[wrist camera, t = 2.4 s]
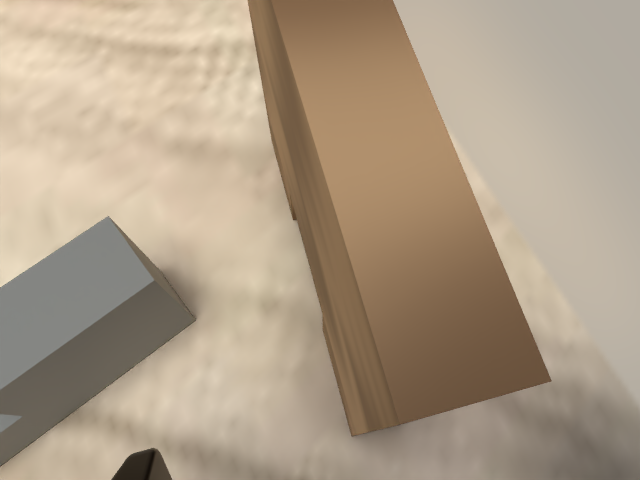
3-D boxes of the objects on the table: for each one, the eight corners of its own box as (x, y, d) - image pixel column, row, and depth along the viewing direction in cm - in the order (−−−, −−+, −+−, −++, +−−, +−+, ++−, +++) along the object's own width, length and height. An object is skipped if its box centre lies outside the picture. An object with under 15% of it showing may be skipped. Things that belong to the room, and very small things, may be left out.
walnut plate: (407, 420, 18) (551, 381, 7) (351, 436, 18) (400, 424, 6) (317, 130, 22) (311, -194, 11) (272, 140, 22) (217, -178, 11)
